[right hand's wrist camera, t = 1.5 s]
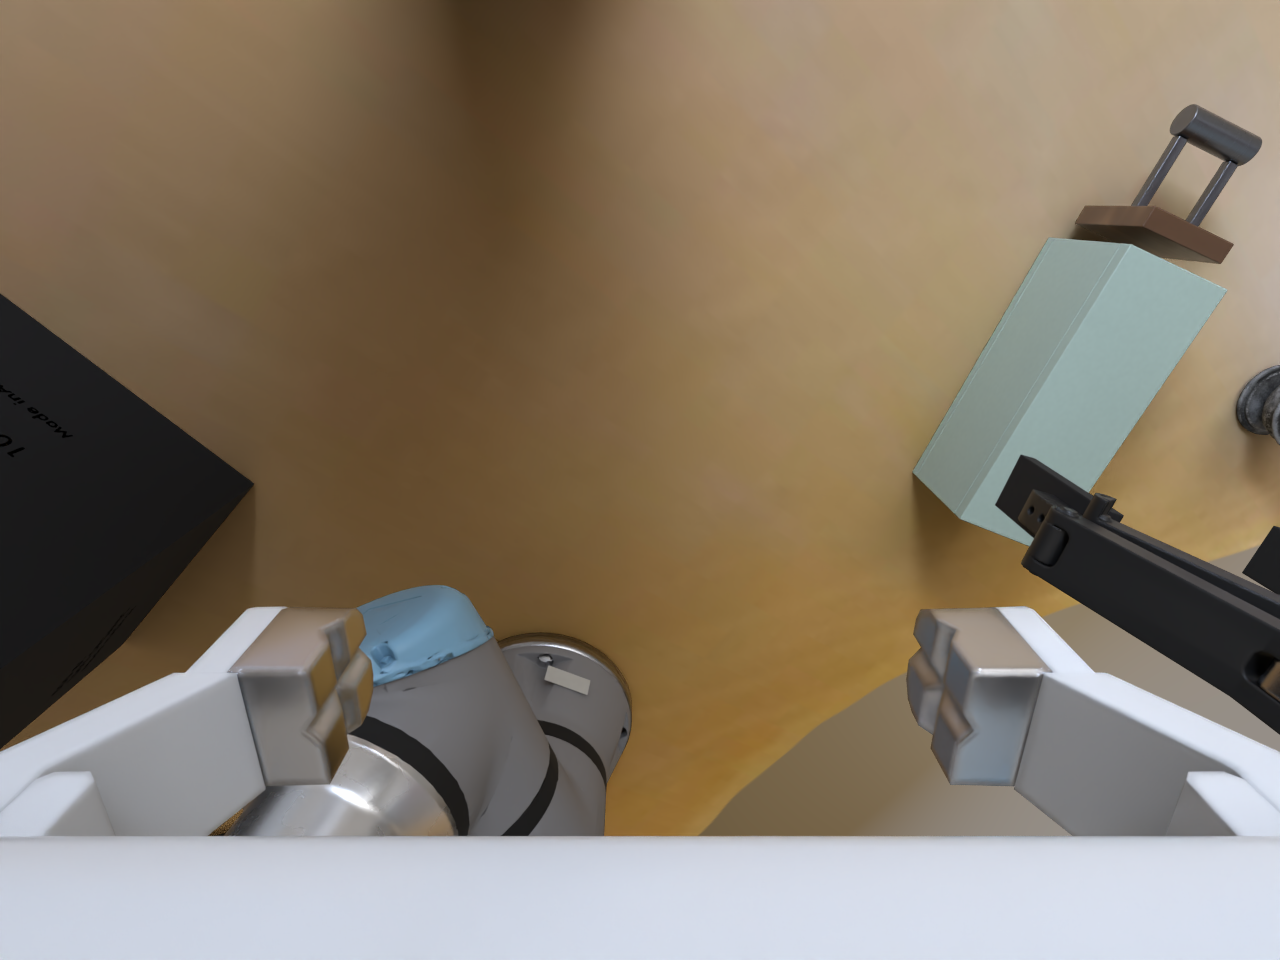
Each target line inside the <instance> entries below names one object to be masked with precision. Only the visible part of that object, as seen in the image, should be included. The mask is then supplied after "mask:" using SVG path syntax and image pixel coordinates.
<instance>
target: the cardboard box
mask: <svg viewBox="0 0 1280 960" xmlns="http://www.w3.org/2000/svg"><path fill="white" fill-rule="evenodd" d="M2 435H6V436H5V437H2ZM8 439H12V441H8ZM5 442H7V444H8V445H7V446H3V447H2V446H1V445H5ZM0 444H1V445H0V749H1V748H2V747H3V746H4V745H6V744H7V743H8V742H9V741H10V740H11V739H13V738H14V737H15V736H16V735H17V734H18V733H20V732H21V731H22V730H23V729H24V728H25V727H27V726H28V725H29V724H30V723H31V722H32V721H34V720H35V719H36V718H37V717H38V716H39V715H41V714H42V713H43V712H44V711H45V710H46V709H48V708H49V707H50V706H51V705H52V704H53V703H55V702H56V701H57V700H58V699H59V698H61V697H62V696H63V695H64V694H65V693H66V692H68V691H69V690H70V689H71V688H72V687H73V686H75V685H76V684H77V683H78V682H79V681H80V680H82V679H83V678H84V677H85V676H86V675H87V674H89V673H90V672H91V671H92V670H93V669H94V668H96V667H97V666H98V665H99V664H100V663H101V662H103V661H104V660H105V659H106V658H107V657H108V656H110V655H111V654H112V653H113V652H114V651H116V650H117V649H118V648H119V647H120V646H121V645H122V644H123V643H124V642H125V641H126V639H127V638H128V637H129V636H130V635H131V633H132V632H133V631H134V630H135V629H136V627H137V626H138V625H139V624H140V622H141V621H142V620H143V619H144V618H145V616H146V615H147V614H148V613H149V611H150V610H151V609H152V608H153V607H154V605H155V604H156V603H157V602H158V601H159V599H160V598H161V597H162V596H163V594H164V593H165V592H166V591H167V590H168V588H169V587H170V586H171V585H172V583H173V582H174V581H175V580H176V579H177V577H178V576H179V575H180V574H181V572H182V571H183V570H184V569H185V568H186V566H187V565H188V564H189V563H190V562H191V560H192V559H193V558H194V557H195V555H196V554H197V553H198V552H199V551H200V549H201V548H202V547H203V546H204V544H205V543H206V542H207V541H208V540H209V538H210V537H211V536H212V535H213V533H214V532H215V531H216V530H217V529H218V527H219V526H220V525H221V524H222V523H223V521H224V520H225V519H226V518H227V516H228V515H229V514H230V513H231V512H232V510H233V509H234V508H235V507H236V505H237V504H238V503H239V502H240V501H241V499H242V498H243V497H244V496H245V494H246V493H247V492H248V491H249V490H250V488H251V487H252V486H253V485H254V483H252V482H251V481H250V480H248V479H247V478H246V477H244V476H243V475H242V474H240V473H239V472H238V471H236V470H235V469H234V468H232V467H231V466H230V465H228V464H227V463H226V462H224V461H223V460H222V459H220V458H219V457H218V456H216V455H215V454H214V453H212V452H211V451H209V450H208V449H207V448H205V447H204V446H203V445H201V444H200V443H199V442H197V441H196V440H195V439H193V438H192V437H191V436H189V435H188V434H187V433H185V432H184V431H183V430H181V429H180V428H179V427H177V426H176V425H175V424H173V423H172V422H171V421H169V420H168V419H167V418H165V417H164V416H163V415H161V414H160V413H159V412H157V411H156V410H155V409H153V408H152V407H151V406H149V405H148V404H147V403H145V402H144V401H143V400H141V399H140V398H139V397H137V396H136V395H135V394H133V393H132V392H131V391H129V390H128V389H127V388H125V387H124V386H123V385H121V384H120V383H119V382H117V381H116V380H115V379H113V378H112V377H111V376H109V375H108V374H107V373H105V372H104V371H103V370H101V369H100V368H99V367H97V366H96V365H95V364H93V363H92V362H91V361H89V360H88V359H87V358H85V357H84V356H83V355H81V354H80V353H79V352H77V351H76V350H75V349H73V348H72V347H71V346H69V345H68V344H67V343H65V342H64V341H63V340H61V339H60V338H59V337H57V336H56V335H55V334H53V333H52V332H51V331H49V330H48V329H47V328H45V327H44V326H43V325H41V324H40V323H39V322H37V321H36V320H35V319H33V318H32V317H31V316H29V315H28V314H27V313H25V312H24V311H23V310H21V309H20V308H19V307H17V306H16V305H14V304H13V303H12V302H10V301H9V300H8V299H6V298H5V297H4V296H2V295H1V294H0Z"/></svg>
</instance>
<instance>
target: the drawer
mask: <svg viewBox="0 0 1280 960" xmlns="http://www.w3.org/2000/svg"><path fill="white" fill-rule="evenodd" d="M1170 133H1171V134H1172V135H1174V136H1176V137H1173V138H1172V140H1171V141H1170V143H1169V145H1168V146H1167V148H1166V149H1165V151H1164V153H1163V154H1162V156H1161V158H1160V159H1159V161H1158V163H1157V164H1156V166H1155V167H1154V169H1153V171H1152V172H1151V174H1150V176H1149V177H1148V179H1147V180H1146V182H1145V184H1144V185H1143V187H1142V189H1141V190H1140V192H1139V194H1138V195H1137V197H1136V198H1135V200H1134V202H1133V203H1132V205H1131V206H1085V207H1084V209H1083V210H1082V212H1081V214H1080V215H1079V217H1078V219H1077V220H1076V222H1075V224H1077V225H1079V226H1081V227H1083V228H1085V229H1087V230H1090V231H1092V232H1094V233H1096V234H1098V235H1100V236H1102V237H1104V238H1107V239H1109V240H1111V241H1113V242H1115V243H1121V244H1132V245H1134V246H1136V247H1138V248H1140V249H1142V250H1144V251H1147V252H1149V253H1151V254H1153V255H1155V256H1157V257H1159V258H1168V259H1178V260H1188V261H1197V262H1207V263H1216V264H1221V263H1222V261H1223V260H1224V258H1225V257H1226V255H1227V254H1228V252H1229V251H1230V250H1231V248H1232V247H1233V245H1234V244H1233V243H1231V242H1228V241H1226V240H1224V239H1222V238H1220V237H1218V236H1216V235H1214V234H1212V233H1210V232H1208V231H1206V230H1204V229H1202V228H1200V227H1198V226H1199V225H1200V223H1201V222H1202V220H1203V219H1204V217H1205V215H1206V214H1207V212H1208V211H1209V209H1210V208H1211V206H1212V205H1213V203H1214V202H1215V200H1216V199H1217V197H1218V196H1219V194H1220V192H1221V191H1222V189H1223V188H1224V186H1225V185H1226V183H1227V182H1228V180H1229V179H1230V177H1231V176H1232V174H1233V172H1234V171H1235V169H1236V168H1237V166H1241V165H1243V164H1245V163H1247V162H1248V161H1250V160H1251V159H1252V158H1253V157H1254V156H1255V155H1256V154H1257V152H1258V151H1259V149H1260V147H1261V145H1262V139H1261V138H1260V137H1258V136H1256V135H1254V134H1253V133H1251V132H1249V131H1247V130H1245V129H1243V128H1241V127H1239V126H1237V125H1235V124H1233V123H1231V122H1229V121H1227V120H1225V119H1223V118H1221V117H1219V116H1217V115H1215V114H1214V113H1212V112H1210V111H1208V110H1206V109H1204V108H1202V107H1200V106H1198V105H1196V104H1192V105H1189V106H1187V107H1186V108H1184V109H1183V110H1182V111H1181V112H1180V113H1179V114H1178V115H1177V116H1176V118H1175V119H1174V120H1173V122H1172V124H1171V127H1170ZM1186 142H1188V143H1190V144H1192V145H1194V146H1196V147H1198V148H1200V149H1202V150H1204V151H1206V152H1208V153H1210V154H1212V155H1214V156H1216V157H1218V158H1220V159H1222V160H1224V161H1226V162H1223V163H1222V164H1221V166H1220V168H1219V169H1218V171H1217V172H1216V174H1215V175H1214V177H1213V178H1212V180H1211V182H1210V183H1209V185H1208V186H1207V188H1206V189H1205V191H1204V192H1203V194H1202V196H1201V197H1200V199H1199V200H1198V202H1197V203H1196V205H1195V206H1194V208H1193V210H1192V211H1191V213H1190V214H1189V216H1188V217H1187V219H1186V220H1183V219H1181V218H1179V217H1177V216H1175V215H1173V214H1171V213H1169V212H1167V211H1164V210H1162V209H1160V208H1158V207H1156V206H1147V205H1148V204H1149V202H1150V200H1151V199H1152V197H1153V195H1154V194H1155V192H1156V191H1157V189H1158V187H1159V186H1160V184H1161V183H1162V181H1163V179H1164V178H1165V176H1166V175H1167V173H1168V171H1169V170H1170V168H1171V166H1172V165H1173V163H1174V162H1175V160H1176V158H1177V157H1178V155H1179V154H1180V152H1181V150H1182V149H1183V147H1184V145H1185V144H1186Z"/></svg>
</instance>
